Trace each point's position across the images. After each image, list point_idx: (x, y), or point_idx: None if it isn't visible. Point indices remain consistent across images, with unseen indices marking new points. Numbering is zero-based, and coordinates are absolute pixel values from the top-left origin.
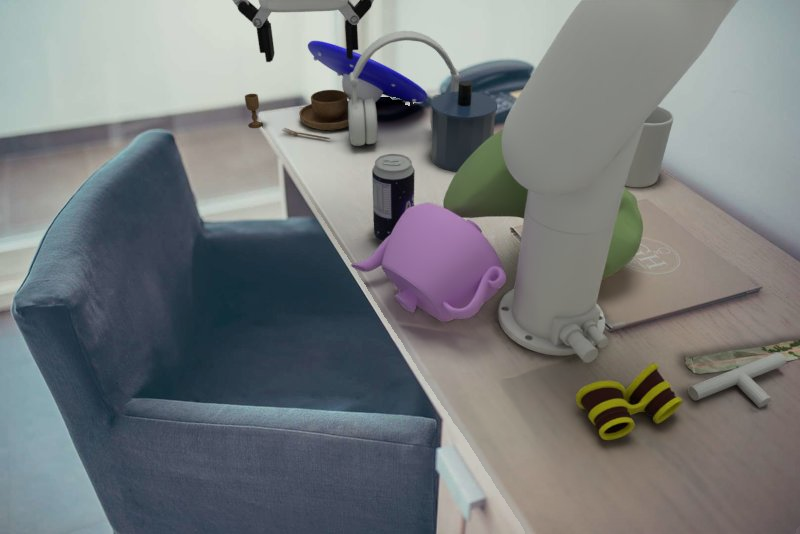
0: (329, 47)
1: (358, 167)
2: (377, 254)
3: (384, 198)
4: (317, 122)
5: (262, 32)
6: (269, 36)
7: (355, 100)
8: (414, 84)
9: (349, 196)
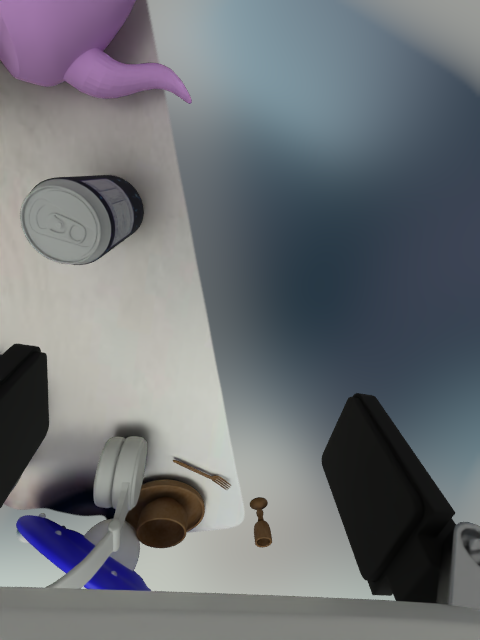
0: None
1: (144, 393)
2: (143, 66)
3: (105, 187)
4: (183, 496)
5: (440, 491)
6: (387, 481)
7: (121, 496)
8: (23, 530)
9: (166, 327)
